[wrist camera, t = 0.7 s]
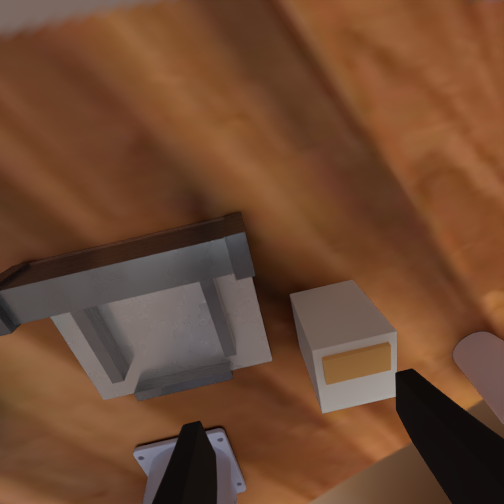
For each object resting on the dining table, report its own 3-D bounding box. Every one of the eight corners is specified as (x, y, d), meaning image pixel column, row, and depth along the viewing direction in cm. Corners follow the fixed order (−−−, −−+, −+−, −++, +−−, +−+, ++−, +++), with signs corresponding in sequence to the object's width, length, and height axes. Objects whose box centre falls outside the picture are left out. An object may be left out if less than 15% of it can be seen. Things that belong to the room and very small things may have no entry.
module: (356, 333, 22) (399, 400, 16) (299, 347, 22) (323, 417, 16) (352, 278, 19) (399, 334, 14) (289, 293, 19) (313, 354, 14)
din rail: (275, 353, 21) (285, 400, 18) (103, 394, 22) (78, 448, 18) (240, 209, 17) (244, 231, 13) (18, 261, 17) (-39, 299, 13)
